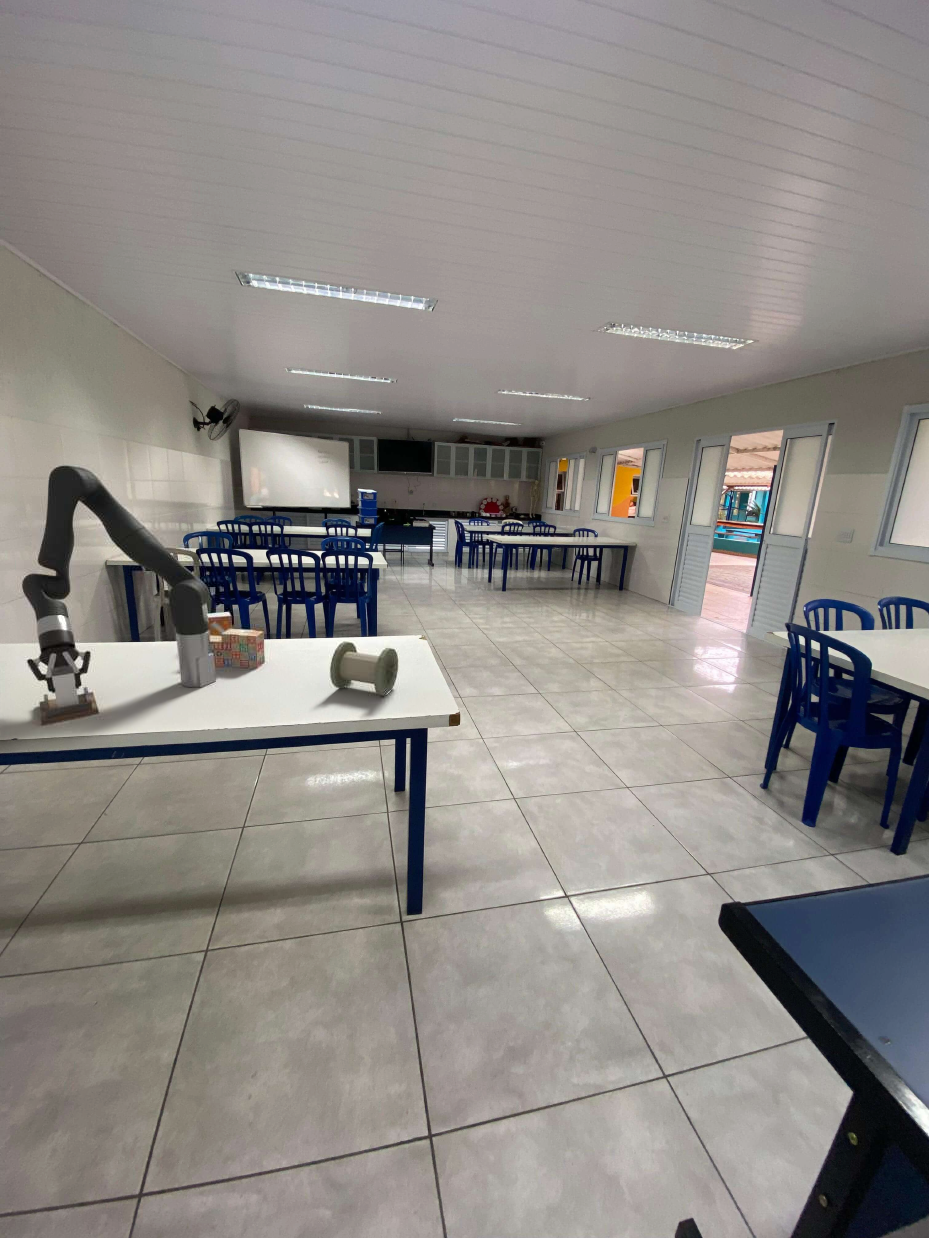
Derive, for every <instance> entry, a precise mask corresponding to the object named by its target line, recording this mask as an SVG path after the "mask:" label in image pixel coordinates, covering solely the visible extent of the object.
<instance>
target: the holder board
mask: <svg viewBox="0 0 929 1238" xmlns="http://www.w3.org/2000/svg"><path fill="white" fill-rule="evenodd" d="M77 695H78V701H79V704H75V705H70V706H65V707H60V708H58V707H57V701H56V698H53V699H49V695H48V694H47V693H46V694H43V700H41V701H39V702H38V705H39V716H40V724H41V726H44V725H51V724H55V723H59V722H63V721H69V720H73V719H78V718H83V717H88V716H92V715H97V714H100V711H99V706H98V704H97V701H96V697H95V694H94V692H93V691H91V692H89V690H88V686H85V687H83V693H80V694H77Z"/></svg>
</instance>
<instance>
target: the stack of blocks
mask: <svg viewBox="0 0 929 1238" xmlns="http://www.w3.org/2000/svg"><path fill="white" fill-rule="evenodd" d="M264 638H265V636H264V631H261V630H255V629H237V628H236V629H235V628H232V629H228V630H227V631H225V632H224V633H222V634H221V636H210V644H211V653H213V654H214V661H215V667H229V668H243V669H260V667H261V666H262V665H263V664H265V663H266V662H265V661H266V656H265V639H264Z"/></svg>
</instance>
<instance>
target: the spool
mask: <svg viewBox="0 0 929 1238" xmlns="http://www.w3.org/2000/svg"><path fill="white" fill-rule="evenodd" d="M329 671H330V672H329V673H330V674H329V675H330V676H329V678H330V680H331V684H332V685H333V686H334V687H335V688H337V689H345V688H346V687H348V686H349V685H350V684H351V683H352V681H353V682H359V683H365V684H371V685H374V689H375V692H376V693H377V695H378V696H384V697H385V695H386V694H387V693H388V692H389V691H390V690H391V689H392V690H393V688H394V687H395V683H396V680H397V677H398V671H399V656H398V652H397V651H396V650H395V648H391V647H385V648H384V649H383V650H382V651H381V653H380V654H379V655H374V654H367V653H361V652H358V651H357V647H356V646H355V644H354V643H353V642H350V641H349V642H348V641H343V642H341V643H339V644H338V646H337V647H336V648H335V650H334V653H333V655H332V658H331V662H330V667H329ZM349 683H350V684H349ZM348 684H349V685H348ZM347 685H348V686H347ZM345 686H346V687H345ZM344 687H345V688H344ZM392 690H391V691H392ZM387 695H388V694H387ZM387 695H386V696H387Z"/></svg>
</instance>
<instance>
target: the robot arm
mask: <svg viewBox="0 0 929 1238" xmlns="http://www.w3.org/2000/svg"><path fill="white" fill-rule="evenodd" d="M47 486H48V487H47V504H46V505H47V506H46V517H45V526H44V533H43V537H42V541H41V545H40V548H39V553H38V557H37V563H38V565H39V566H41V567H42V568H45V569H48V570H51V571H54V572H55V575H53V574H44V573H43V574H42V573H30V574H27V575H26V576H25V577H24V578H23V580H22V583H21V589H22V591H23V594H24V596H25V598H26V599H27V601H28V602H29V604H30V605H31V607H32V609H33V611H34V613H35V614H34V615H35V618H36V619H35V620H36V632H37V639H38V645H39V651H40V654H39V656H38V657H37V658H36V657H35V658H34V659H32V658H29V659H27V660H26V663H27V666H28V668H29V669H30V670H31V672H32V673H33V675H34V676H35V677H34V678H36V680H37V681H38V682H41V681H44V682H46V685H47V690H48V692H49V693H50V692H51V693H52V694H55V687H54V685H53V680H52V674H51V669H53V668H54V667H59V666H66V665H69V666H72V667H73V671H74V677H75V683H76V684H75V687H76V689H77V690H79V689H80V687H82V680H81V676H82V675H83V674H84V675H85V674H88V672H89V667H90V662H91V658H92V656H91V655H92V654H91V651H90V650H85V651H84V652H83V651H79V650H78V649H77V647H76V641H75V636H74V631H73V628H72V627H73V626H72V624H71V621H70V618H69V612H68V607H67V605H66V603H64V602H63V601H62V600H64V599H66V598H68V596H69V595H70V593H71V579H70V562H71V559H72V555H73V551H74V548H75V547H74V546H75V531H74V514H75V510H76V508H77V505H78V503H79V502H80V503H81V504H83V505H84V506H86V508H88V509H89V510H90V511H91V512H92V514H94V515H96V517H97V519H99V520H100V522H101V524H102V525H103V527H104V530H105V531H106V533H107V534H108V536H109V539H110V540H111V541H112V542H113V544H115V546H117V548H118V549H120V551H121V552H122V553H124V554H125V555H126V556H127V557H128V558H129V559H130V560H132V561H133V562H134V563H136V564H137V565H139V566H141V567H143V568H144V569H146V570H148V571H150V572H152V573H153V574H156V575H157V576H159V577H160V578H161V579H163V580H164V581H165V582H166V583H167V584H168V585H169V586H170V587H171V588H170V591H169V593H168V604H169V605H168V606H169V612H170V618H171V623H172V625H173V627H174V629H175V635H176V636H175V638H176V647H177V655H178V657H177V658H178V664H179V665H178V666H179V672H180V673H179V675H180V683H181V686H183V687H186V688H203V687H205V686H207V685H209V684H212V683H214V682H216V681H217V676H216V674H217V673H216V666H215V661H214V654H213V653H211V644H210V633H209V623H208V621H207V619H205V617H204V615H205V614H204V610H203V607H204V605H206V604H207V603H208V602H209V601H210V595H211V593H210V590H209V588H208V586H207V585H206V584H205V582H204V581H202V579H200V578H199V577H198V576H196V575H195V574H194V573H193V572H191V571H190V570H189V569H188V568H186V566H184V565H183V564H182V563H181V562H180V561H179V560H178V559H177V558H176V557H175V556H174V555H173V554H172V553H171V552H170V550H168V549H167V548H166V547H165V546H164V545H163V544H162V543H161V542H160V541H159V540H158V539H157V538H156V536H154V535H153V534H152V533H151V532H150V531H149V530H148V529H147V528H146V527H145V525H143V524H142V522H140V521H139V520H138V519H137V518H136V517H135V516H133V514H132V513H131V512H129V511H128V510H127V509H126V508H125V507H124V506H123V505H122V504H121V503H119V501H118V499H116V497H114V496H113V494H112V493H111V492H110V491H109V490H108V488H107V487H106V486H105V485H104V483H102V481H101V480H100V479H99V478H98V476H97V475H95V474H94V473H93V472H92V471H90V470H89V469H86V468H83V467H79V466H73V465H59V466H56V467H54V468H53V469H52V470H51V472H50V473H49V477H48V485H47ZM78 658H80V659H81V660H82V665H81V667H80V668H78V667H77V664H76V661H77V659H78ZM40 663H43V664H44V665H45V666H47V668H46V669H47V670H46V673H42V672H41V670H40V668H39V667H40Z"/></svg>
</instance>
